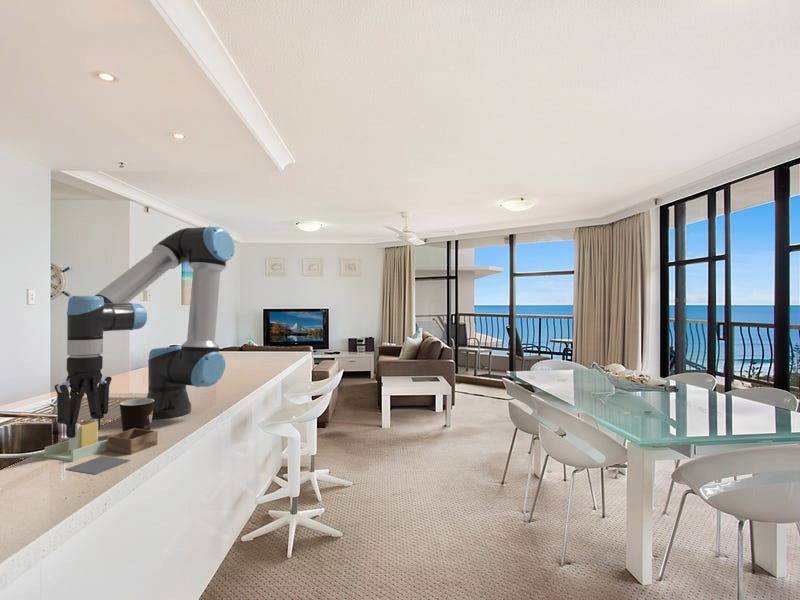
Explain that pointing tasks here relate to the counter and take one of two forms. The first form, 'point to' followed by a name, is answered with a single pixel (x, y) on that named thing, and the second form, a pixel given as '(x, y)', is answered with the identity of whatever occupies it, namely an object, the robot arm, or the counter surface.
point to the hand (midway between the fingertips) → (83, 446)
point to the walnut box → (132, 441)
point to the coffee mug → (136, 413)
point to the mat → (97, 465)
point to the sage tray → (63, 451)
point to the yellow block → (87, 433)
